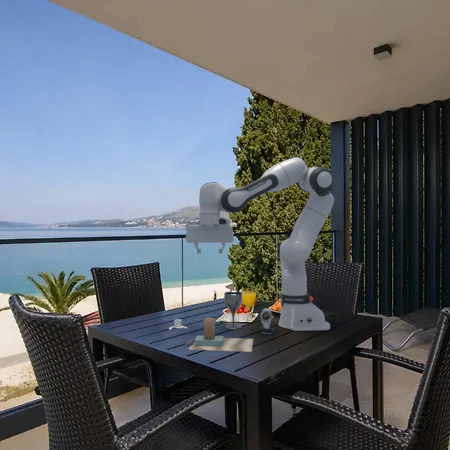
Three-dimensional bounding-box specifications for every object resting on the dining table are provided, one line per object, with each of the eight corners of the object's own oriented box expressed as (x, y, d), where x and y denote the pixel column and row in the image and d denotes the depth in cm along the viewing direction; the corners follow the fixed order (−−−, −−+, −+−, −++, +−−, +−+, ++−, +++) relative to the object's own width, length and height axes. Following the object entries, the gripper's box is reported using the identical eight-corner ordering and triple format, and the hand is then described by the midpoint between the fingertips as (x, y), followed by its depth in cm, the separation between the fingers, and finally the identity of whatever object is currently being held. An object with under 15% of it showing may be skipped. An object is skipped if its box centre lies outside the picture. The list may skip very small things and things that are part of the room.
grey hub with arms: (183, 332, 161) (183, 323, 161) (165, 331, 163) (165, 322, 163) (189, 327, 170) (189, 318, 170) (172, 326, 171) (172, 317, 171)
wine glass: (232, 330, 163) (232, 295, 163) (220, 326, 169) (220, 292, 169) (246, 327, 168) (245, 293, 168) (234, 323, 174) (234, 290, 174)
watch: (258, 338, 151) (258, 310, 151) (261, 333, 159) (261, 306, 159) (273, 339, 149) (272, 311, 150) (274, 333, 157) (274, 307, 157)
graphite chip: (195, 340, 142) (193, 338, 142) (192, 344, 137) (191, 342, 137) (185, 345, 143) (184, 342, 143) (182, 349, 138) (181, 346, 138)
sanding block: (223, 341, 142) (223, 317, 142) (222, 346, 136) (222, 321, 136) (197, 340, 143) (197, 316, 143) (194, 345, 137) (194, 320, 137)
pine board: (253, 342, 145) (253, 338, 145) (251, 356, 130) (251, 351, 130) (196, 340, 148) (196, 337, 148) (188, 353, 133) (188, 349, 133)
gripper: (183, 220, 159) (184, 253, 159) (232, 220, 157) (232, 254, 157) (187, 221, 166) (187, 252, 165) (234, 220, 163) (234, 252, 163)
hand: (209, 253), depth 161 cm, fingers open, 8 cm apart
